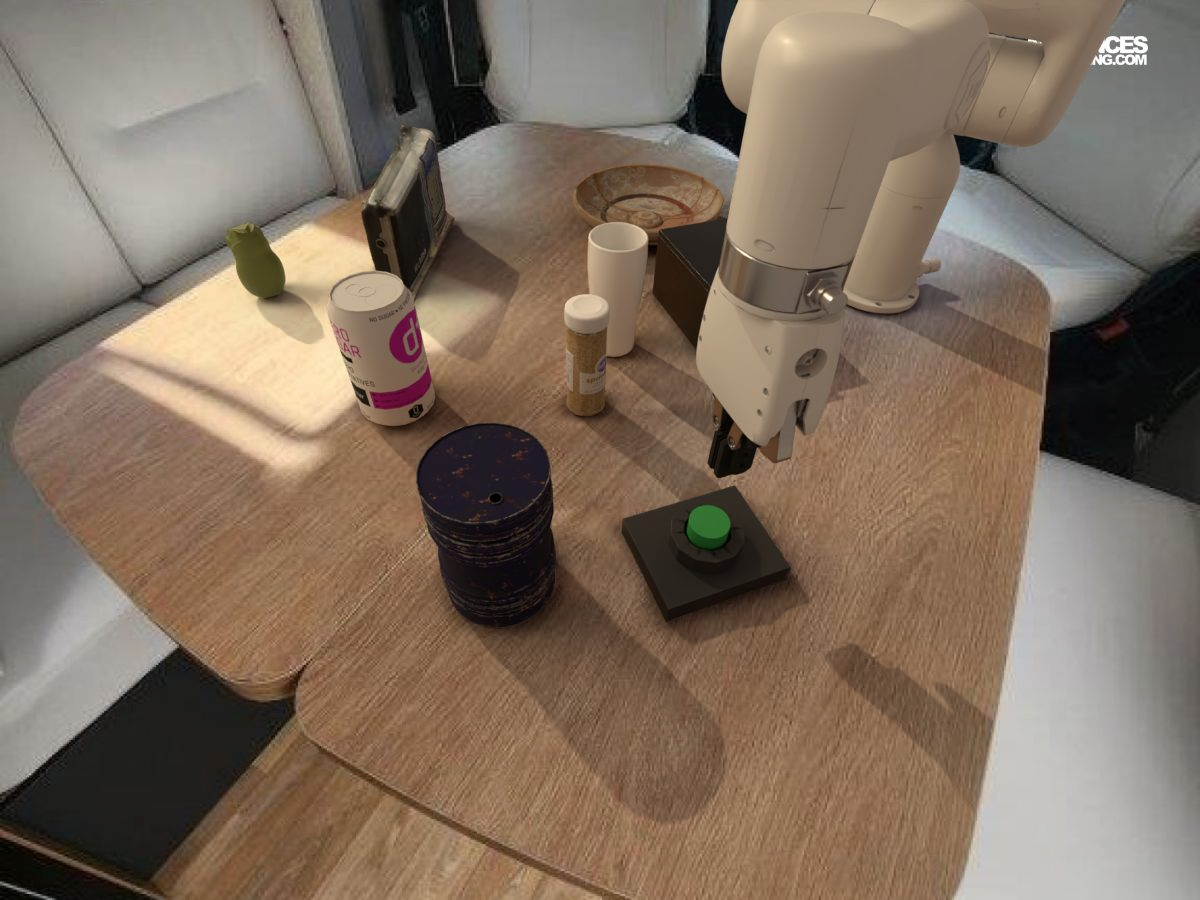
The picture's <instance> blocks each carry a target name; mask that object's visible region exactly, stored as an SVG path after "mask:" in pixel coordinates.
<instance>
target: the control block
mask: <svg viewBox="0 0 1200 900" xmlns="http://www.w3.org/2000/svg"><path fill="white" fill-rule="evenodd" d="M704 505H710V506H715V507H718V508H720V509H721V510H723V511H724V512H725V513H726V514H727V515H728V517H729V519H730V524H731V525H730V530H729V533H728V536H727V540H726V542H725V543H724V544H723V545H722V546H721V547H719V548H717V549H713V550H706V549H702V548H699V547H697V546H695V545H694V544H693V543H692V542H691V541H690V539H689V538H688V535H687V526H688V521H689V517H690V514H691V512H692V511H693V510H694V509H696V508H697V507H700V506H704ZM621 535H622V536H623V538H624V541H625V542H626V545H627V546H628V549H629V551H630V552H631V555H632V557H633V559H634V561H635V563H636V565H637V567H638V569H639V572H640V573H641V575H642V577H643V579H644V581H645V583H646V585H647V587H648V589H649V591H650V594H651V595H652V597H653V599H654V601H655V603H656V605H657V608H658V610H659V612H660V613H661V616H662V618H663V619H664V621H665V622H666V623H668V622H670V621H673V620H676V619H679V618H682V617H684V616H687V615H691V614H692V613H695V612H698V611H701V610H704V609H707V608H710V607H712V606H716V605H718V604H721V603H724V602H727V601H729V600H732V599H735V598H738V597H741V596H744V595H746V594H750V593H752V592H756V591H758V590H760V589H764V588H766V587H769V586H772V585H775V584H778V583H781V582H783V581H785V580H786V579H787V577H788V574H789V572H790V570H791V568H792V567H791V565H790V564H789V562H788V561H787V559H786V558H785V556H784V555H783V553H782V552H781V550H780V549H779V547H778V546H777V545H776V543H775V541H774V540H773V538H772V536H770V534H769V533H768V531H767V529H766V528H765V527H764V526H763V524H762V523H761V521H760V520H759V518H758V517H757V515H756V514H755V512H754V510H753V509H752V508H751V507H750V505H749V503H748V502H747V501H746V499H745V497H744V496H743V495H742V493H741V492H740V490H739V489H738V487H737V486H736V485H735V484H734V485H731V486H727V487H724V488H721V489H717V490H714V491H710V492H707V493H704V494H701V495H698V496H697V495H696V496H693V497H691V498H687V499H684V500H680V501H676V502H674V503H670V504H667V505H664V506H661V507H658V508H653V509H651V510H647V511H644V512H641V513H637V514H634V515H630V516H627V517H624V518H622V521H621Z"/></svg>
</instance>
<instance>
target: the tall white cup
mask: <svg viewBox="0 0 1200 900" xmlns="http://www.w3.org/2000/svg"><path fill="white" fill-rule="evenodd" d="M586 254H587V255H586V256H587V257H586V264H587V265H586V266H587V283H588V284H587V285H588V294H591V295H596V296H599V297H601V298H603V299H604V300H606V301H607V303H608V304H609V307H610V317H609V324H608V326H607V348H606V356H607V357H609V358H617V357H619V358H620V357H623V356H626V355H627V354H629V353H630V352H631V351H632V350H633V348H634V345H635V341H636V337H635V336H636V330H637V323H638V319H639V313H640V307H641V303H642V298H643V296H642V295H643V291H644V288H645V287H644V286H645V283H646V276H647V275H646V274H647V268H648V258H649V257H648V255H649V245H648V235H647V233H646V232H645V231H644V230H643V229H641V228H640V227H638V226H635V225H632V224H628V223H622V222H611V223H605V224H601V225H599V226H597V227H595V228H591V230H590V231H589V233H588V238H587V253H586Z"/></svg>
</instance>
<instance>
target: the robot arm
mask: <svg viewBox="0 0 1200 900" xmlns="http://www.w3.org/2000/svg"><path fill="white" fill-rule="evenodd" d="M1125 1H1126V0H737V3H736V4H735V8H734V10H733V13H732V16H731V18H730V20H729V21H730V22H729V23H728V28H727V31H726V34H725V38H724V43H723V48H722V54H721V64H720V65H721V81H722V85H723V88H724V92H725V94H726V96H727V98H728V99H729V100H730V102H731V104H732V105H733V106H734V107H735V108H736V109H738V111H739V110H740V112H742V113H744V114H746V120H745V125H744V130H743V136H742V140H741V145H740V146H741V147H740V151H739V157H738V163H737V168H736V173H735V177H734V178H735V179H734V183H733V187H732V188H733V189H732V194H731V195H732V196H731V199H730V205H729V211H728V216H727V218H728V220H727V227H726V231H725V237H724V242H723V247H722V253H721V258H720V263H719V267H718V269H717V272H716V275H715V277H714V280H713V283H712V286H711V289H710V293H709V296H708V299H707V303H706V307H705V310H704V314H703V318H702V323H701V327H700V332H699V337H698V344H697V350H696V354H695V365H696V368H697V370H698V373H699V375H700V376H701V378H702V380H703V381H704V383H705V384H706V386H707V387H708V388H709V390H710V391H711V394H712V396H713V399H714V400H713V408H712V423H713V424H712V425H713V426H714V427H715V429H716V430H714V432H713V436H712V440H711V445H710V449H709V454H708V457H707V463H706V464H707V466H708V467H709V468H710V469H711V470H713V475H714V476H715V477H716V479H722V478H726V477H729V476H737V475H741V474H745V473H746V472H747V471H749V470H751V468H752V466H753V463H754V460H755V456H756V453H757V450H758V449H759V452H760V453H761V454H762V455H763V456H764V457H765V458H766V459H768V461H770V463H772V464H778V463H781V462H785V461H788V460H790V459H792V455H793V447H794V442H795V433H796V428H797V429H798V431H800V432H801V433H802V435H803V436H805V437H806V436H808V435H811V434H814V433H815V432H816V430H817V428H818V427H819V424H820V421H821V419H822V418H823V414H824V411H825V408H826V405H827V402H828V400H829V397H830V393H831V389H832V387H833V383H834V379H835V377H836V372H837V368H838V363H839V358H840V354H841V349H842V343H843V337H844V330H845V329H844V328H845V317H846V311H845V307H846V306H847V305H848V306H849V307H852V308H854V309H857V310H861V311H864V312H867V313H868V312H869V313H873V314H883V315H884V314H885V315H887V314H898V313H902V312H904V311H907V310H909V309H911V308H913V306H915V304H916V302H917V301H918V298H919V296H920V288H919V286H918V284H917V281H918V279H920V278H921V277H923V276H924V275H929V274H933V273H937V272H939V271H940V270H941V268H942V262H941V260H940V259H939V258H937V257H933V258H930V259H925V260H923V259H924V256H925V255H926V253H927V250H928V248H929V245H930V243H931V241H932V239H933V236H934V234H935V232H936V230H937V227H938V225H939V223H940V221H941V219H942V216H943V214H944V211H945V209H946V207H947V205H948V202H949V200H950V198H951V196H952V194H953V192H954V189H955V187H956V184H957V183H958V180H959V176H960V172H961V159H960V152H959V148H958V146H957V141H956V138H955V135H956V136H960V137H961V136H962V137H969V138H973V139H978V140H983V141H987V142H991V143H995V144H999V145H1005V146H1011V147H1016V148H1019V147H1020V148H1026V147H1028V148H1029V147H1033V146H1035V145H1038V144H1040V143H1041V142H1043V141H1044V140H1046V139H1047V138H1048V137H1049V136H1050V135H1051V134H1052V133H1053V131H1054V130H1055V129H1056V127H1058V125H1059V124H1060V122H1061V120H1062V118H1063V117H1064V116H1065V114H1066V112H1067V110H1068V108H1069V107H1070V105H1071V103H1072V101H1073V99H1074V97H1075V96H1076V94H1077V92H1078V91H1079V88H1080V86H1081V85H1082V84H1083V83H1082V82H1083V81H1084V79H1085V77H1086V75H1087V73H1088V71H1089V69H1090V68H1091V66H1092V64H1093V62H1094V60H1095V58H1096V56H1097V54H1098V53H1099V50H1100V49H1101V47H1102V45H1103V43H1104V41H1105V40H1106V37H1107V36H1108V35H1109V32H1110V30H1111V28H1112V26H1113V24H1114V23H1115V21H1116V18H1117V17H1118V15H1119V13H1120V11H1121V10H1122V7H1123V5H1124V3H1125ZM1030 40H1031V41H1030Z"/></svg>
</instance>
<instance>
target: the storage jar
mask: <svg viewBox="0 0 1200 900" xmlns="http://www.w3.org/2000/svg"><path fill="white" fill-rule="evenodd" d="M551 468H552V467H551V459H550V456H549V454H548V451H547V449H546V448H545V446H544V444H543V443H542V442H541V441H540V440H539V439H538V438H537V437H536V436H535V435H533V434H531V433H530V432H529V431H527V430H525V429H523V428H521V427H518V426H515V425H512V424H508V423H503V422H487V421H486V422H476V423H472V424H467V425H464V426H461V427H457V428H456V429H455V428H454V429H453V430H450V431H449V432H447V433H444V435H442V436H440V437H438V438H437V439H436V440H435V441H433V442H432V444H430V445H429V446H428V447H427V448H426V450H425V451H424V453H423V454H422V456H421V457H420V459H419V461H418V464H417V468H416V471H415V483H416V484H415V485H416V489H417V492H418V496H419V499H420V504H421V510H422V514H423V518H424V521H425V523H426V528H427V531H428V534H429V536H430V538H432V541H433V542H434V544H435V545H436V546H437V559H438V563H439V569H440V575H441V579H442V582H443V584H444V587H445V589H446V591H447V594H448V597H449V600H450V601H451V604H452V607H454V609H455V611H456V612H457V613H458V614H459V615H460V616H461V617H462V618H464V619H465V620H466V621H468V622H469V623H472V624H474V625H477V626H479V627H484V628H490V629H504V628H509V627H510V628H511V627H514V626H518V625H521V624H523V623H525V622H527V621H528V620H530V619H532V618H534V617H535V616H536V615H537V614H538V613H540V612H541V611H542V610H543V609H544V607H545V606H546V605H547V604H548V602H549V600H550V599H551V597H552V595H553V593H554V590H555V586H556V579H557V578H556V576H557V573H556V568H557V551H556V544H555V538H554V537H555V536H554V533H553V530H552V528H551V526H552V521H553V517H554V510H555V504H554V487H553V480H552V469H551Z"/></svg>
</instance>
